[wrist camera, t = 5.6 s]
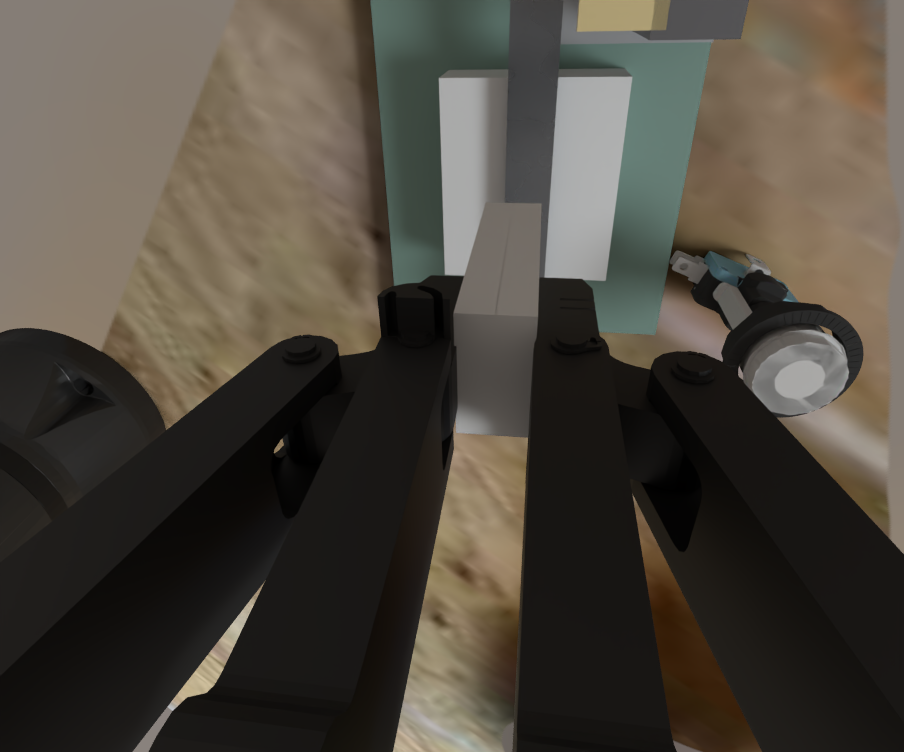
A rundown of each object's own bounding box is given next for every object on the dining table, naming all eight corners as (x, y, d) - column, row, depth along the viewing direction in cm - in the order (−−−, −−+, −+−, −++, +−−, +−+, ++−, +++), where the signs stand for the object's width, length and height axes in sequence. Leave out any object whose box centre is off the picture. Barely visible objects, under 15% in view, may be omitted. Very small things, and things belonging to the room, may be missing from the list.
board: (401, 312, 36) (385, 347, 33) (372, -59, 26) (344, -66, 23) (652, 324, 34) (663, 362, 31) (726, -73, 24) (755, -82, 21)
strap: (490, 329, 31) (489, 339, 30) (496, -24, 23) (494, -24, 22) (551, 332, 31) (551, 342, 30) (581, -26, 22) (582, -26, 21)
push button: (644, 291, 33) (675, 391, 25) (700, 206, 30) (755, 288, 22) (748, 336, 34) (810, 448, 26) (812, 256, 31) (906, 354, 23)
